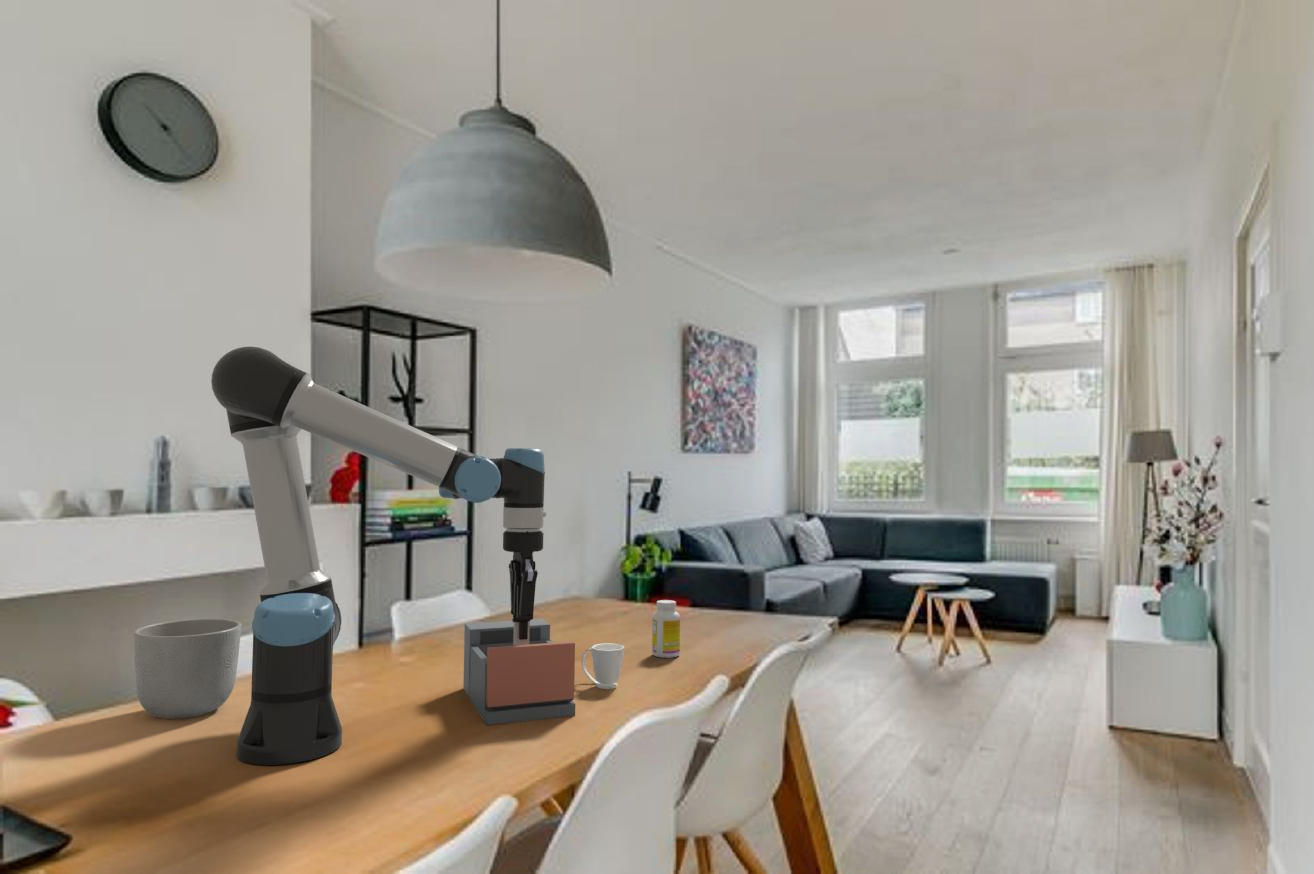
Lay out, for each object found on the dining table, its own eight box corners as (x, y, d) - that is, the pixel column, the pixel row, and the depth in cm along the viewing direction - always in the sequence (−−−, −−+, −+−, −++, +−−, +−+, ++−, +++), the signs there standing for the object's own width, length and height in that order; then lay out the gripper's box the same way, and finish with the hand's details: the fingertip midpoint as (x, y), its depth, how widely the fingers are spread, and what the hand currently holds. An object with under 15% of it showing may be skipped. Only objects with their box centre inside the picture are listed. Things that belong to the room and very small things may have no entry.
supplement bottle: (685, 654, 196) (685, 600, 197) (670, 659, 191) (671, 604, 191) (661, 650, 200) (662, 598, 200) (646, 655, 194) (647, 601, 195)
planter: (222, 693, 158) (224, 614, 159) (252, 713, 146) (255, 627, 147) (120, 711, 147) (123, 626, 147) (143, 734, 134) (146, 641, 135)
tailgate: (487, 710, 141) (488, 649, 142) (486, 707, 143) (487, 647, 143) (574, 701, 147) (575, 642, 148) (571, 698, 149) (572, 641, 149)
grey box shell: (469, 697, 158) (470, 629, 158) (463, 688, 164) (464, 623, 165) (549, 689, 164) (550, 624, 164) (540, 681, 170) (541, 618, 171)
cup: (611, 692, 162) (611, 651, 163) (571, 684, 168) (572, 645, 168) (631, 685, 168) (631, 645, 169) (592, 677, 174) (592, 639, 174)
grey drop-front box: (486, 724, 141) (487, 666, 142) (469, 697, 158) (470, 645, 158) (575, 715, 147) (576, 659, 148) (549, 689, 164) (550, 639, 164)
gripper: (551, 532, 149) (549, 661, 148) (534, 526, 161) (532, 646, 160) (511, 532, 146) (508, 665, 145) (496, 527, 158) (494, 649, 157)
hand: (521, 655), depth 153 cm, fingers closed
